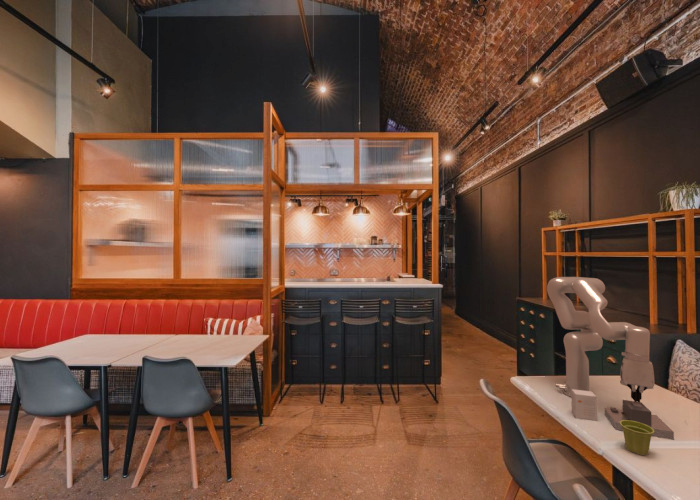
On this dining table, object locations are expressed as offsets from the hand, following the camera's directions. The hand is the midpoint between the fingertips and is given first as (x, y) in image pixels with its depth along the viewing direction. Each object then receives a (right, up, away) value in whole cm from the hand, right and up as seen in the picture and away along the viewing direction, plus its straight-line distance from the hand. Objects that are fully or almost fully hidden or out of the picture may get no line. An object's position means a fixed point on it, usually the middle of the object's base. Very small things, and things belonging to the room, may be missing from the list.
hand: (636, 400), depth 137 cm
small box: (-17, -10, +7) cm, 21 cm away
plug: (-1, -10, -1) cm, 10 cm away
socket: (-1, -10, -1) cm, 10 cm away
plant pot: (-15, -10, -18) cm, 26 cm away
